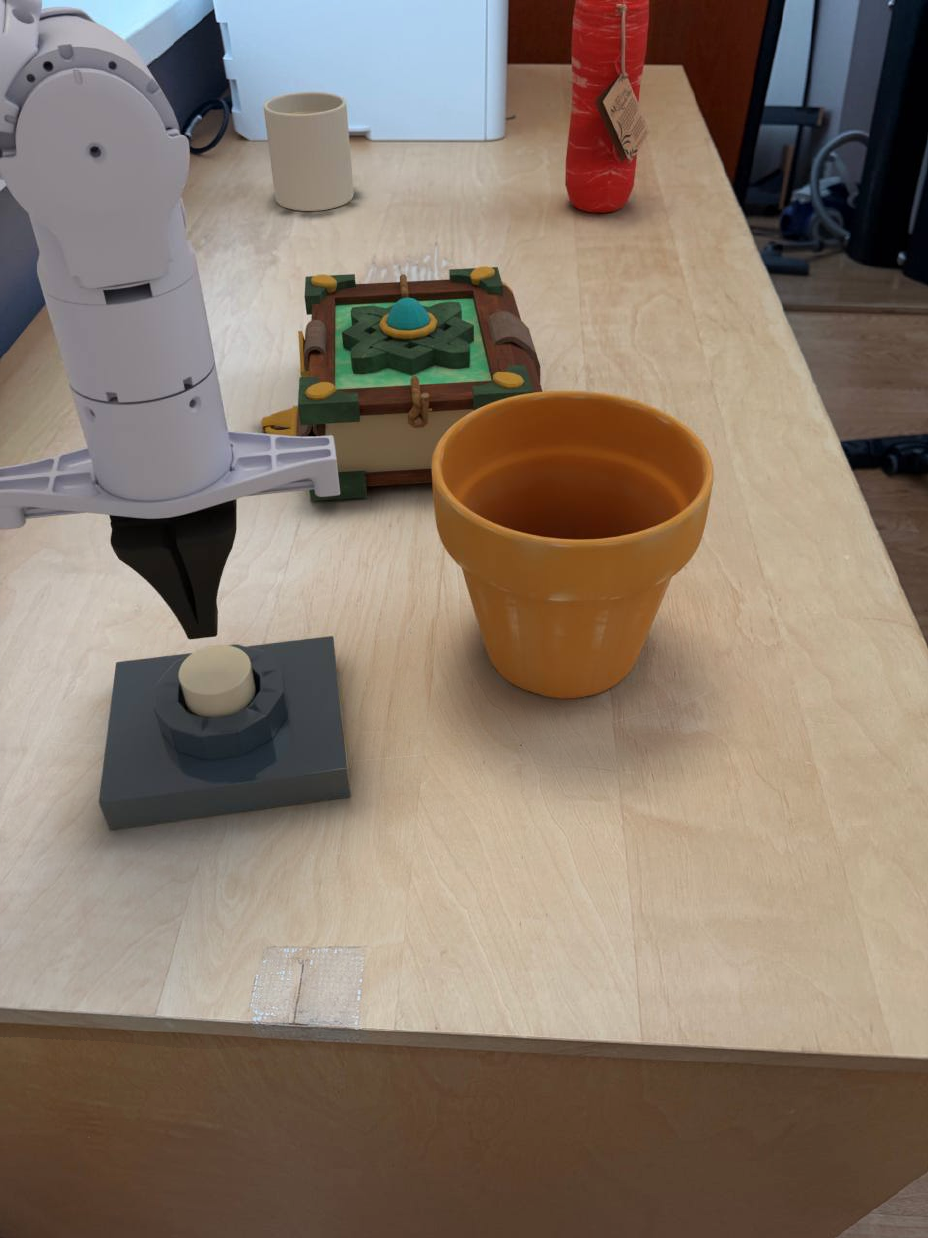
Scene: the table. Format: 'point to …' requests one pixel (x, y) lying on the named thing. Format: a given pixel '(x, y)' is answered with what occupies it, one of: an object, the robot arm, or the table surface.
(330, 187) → the mug
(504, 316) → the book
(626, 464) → the flower pot
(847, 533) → the table surface
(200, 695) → the cream cylinder puck
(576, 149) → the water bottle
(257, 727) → the push button base
